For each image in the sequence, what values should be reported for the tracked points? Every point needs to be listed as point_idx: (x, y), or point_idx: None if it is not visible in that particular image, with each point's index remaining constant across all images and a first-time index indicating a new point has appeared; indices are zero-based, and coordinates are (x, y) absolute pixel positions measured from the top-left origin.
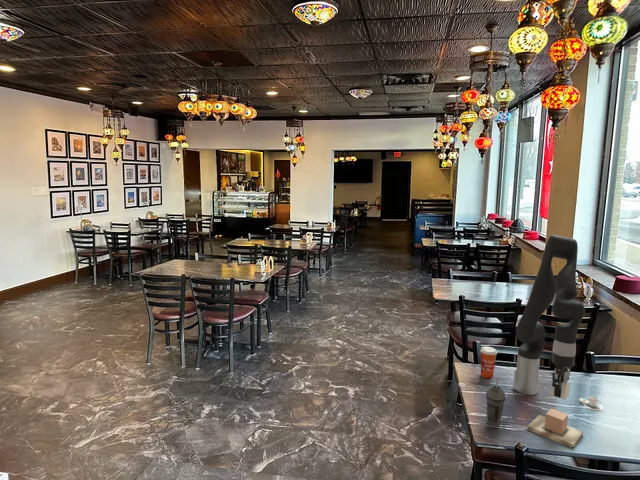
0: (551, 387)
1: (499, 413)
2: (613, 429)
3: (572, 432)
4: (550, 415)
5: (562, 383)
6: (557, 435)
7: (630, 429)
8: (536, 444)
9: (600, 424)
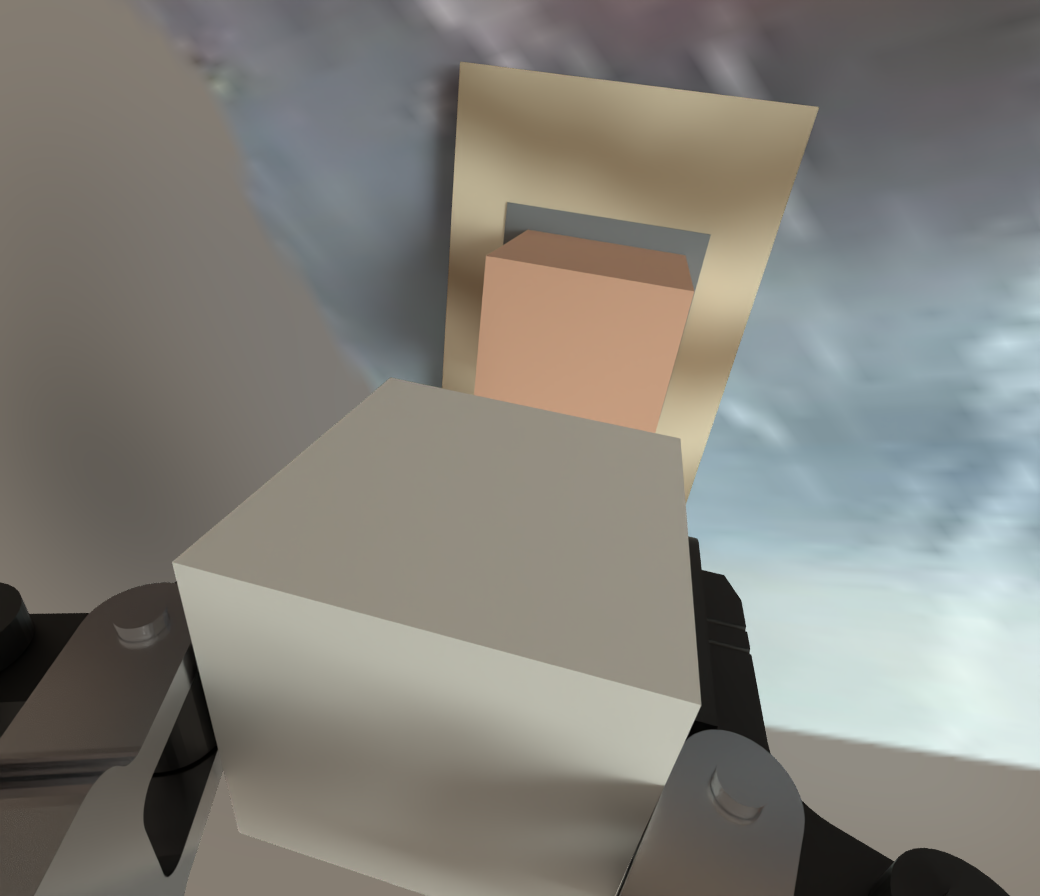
0: (283, 474)
1: None
2: (913, 661)
3: None
4: (482, 309)
5: (188, 867)
6: None
7: (972, 742)
8: (300, 208)
9: (962, 600)
